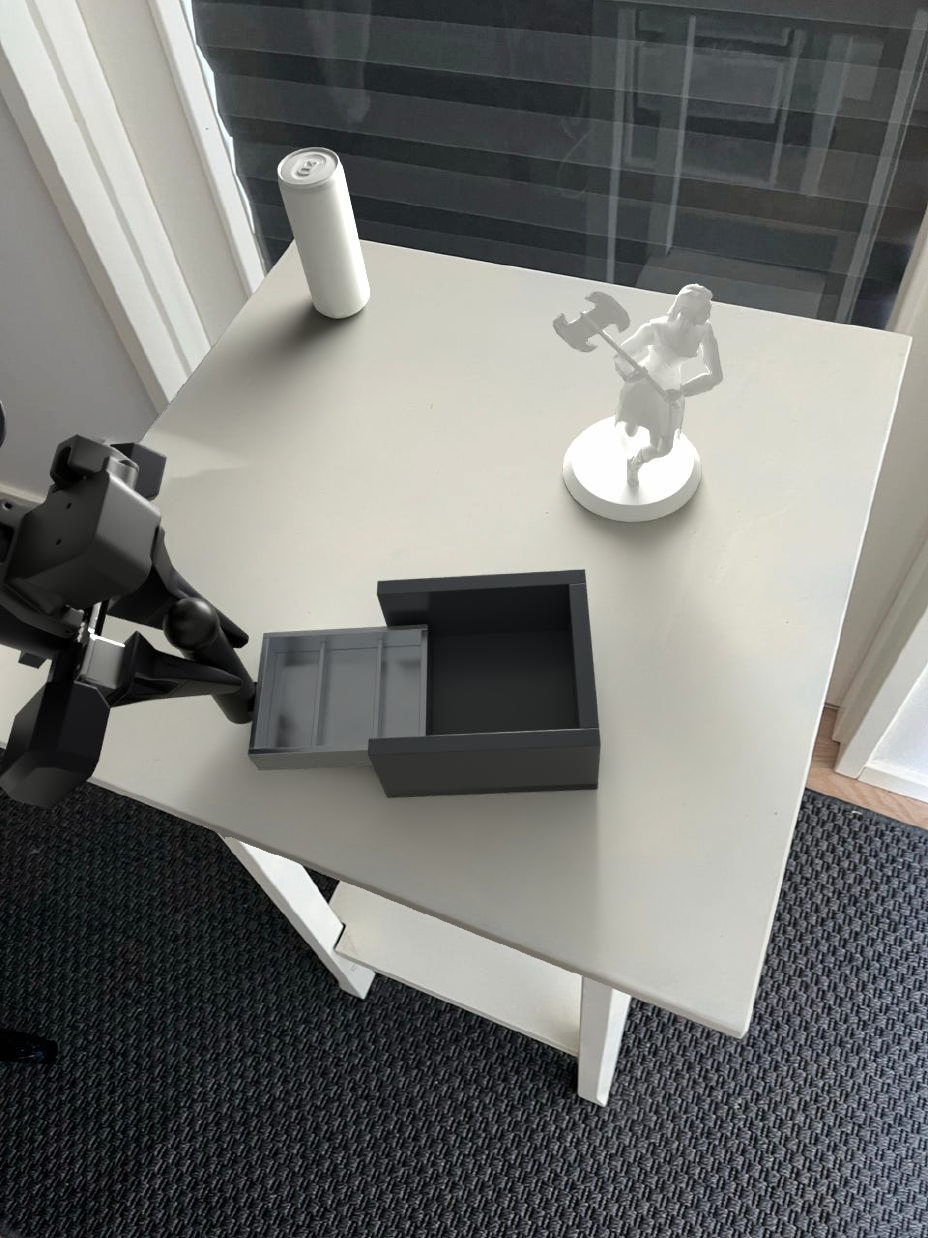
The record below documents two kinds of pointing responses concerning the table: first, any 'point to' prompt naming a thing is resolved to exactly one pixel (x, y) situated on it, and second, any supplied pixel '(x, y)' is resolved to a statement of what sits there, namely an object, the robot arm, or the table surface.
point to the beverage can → (324, 230)
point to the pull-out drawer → (316, 687)
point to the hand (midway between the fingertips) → (242, 664)
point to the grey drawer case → (497, 686)
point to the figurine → (642, 410)
